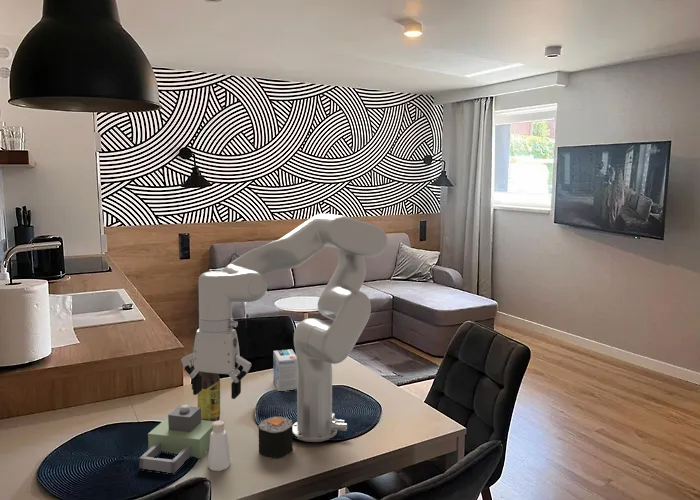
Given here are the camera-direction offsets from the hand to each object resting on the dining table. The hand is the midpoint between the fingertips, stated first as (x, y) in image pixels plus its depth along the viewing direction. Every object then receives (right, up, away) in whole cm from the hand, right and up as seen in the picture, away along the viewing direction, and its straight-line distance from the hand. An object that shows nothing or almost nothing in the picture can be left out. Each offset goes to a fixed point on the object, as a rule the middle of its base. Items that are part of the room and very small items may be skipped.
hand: (216, 394), depth 131 cm
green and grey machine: (-12, -17, +8) cm, 22 cm away
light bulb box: (+10, -11, +53) cm, 55 cm away
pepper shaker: (0, -18, +3) cm, 18 cm away
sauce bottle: (-8, -15, +27) cm, 31 cm away
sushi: (+13, -17, +10) cm, 24 cm away
